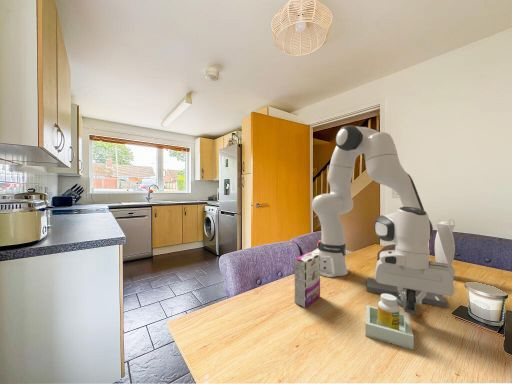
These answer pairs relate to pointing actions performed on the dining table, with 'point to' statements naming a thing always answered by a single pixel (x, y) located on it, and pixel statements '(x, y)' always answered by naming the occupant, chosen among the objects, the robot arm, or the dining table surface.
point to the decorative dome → (386, 249)
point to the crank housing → (389, 289)
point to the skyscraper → (445, 243)
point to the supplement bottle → (388, 312)
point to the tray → (389, 329)
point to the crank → (409, 301)
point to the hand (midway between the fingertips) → (410, 301)
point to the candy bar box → (307, 278)
